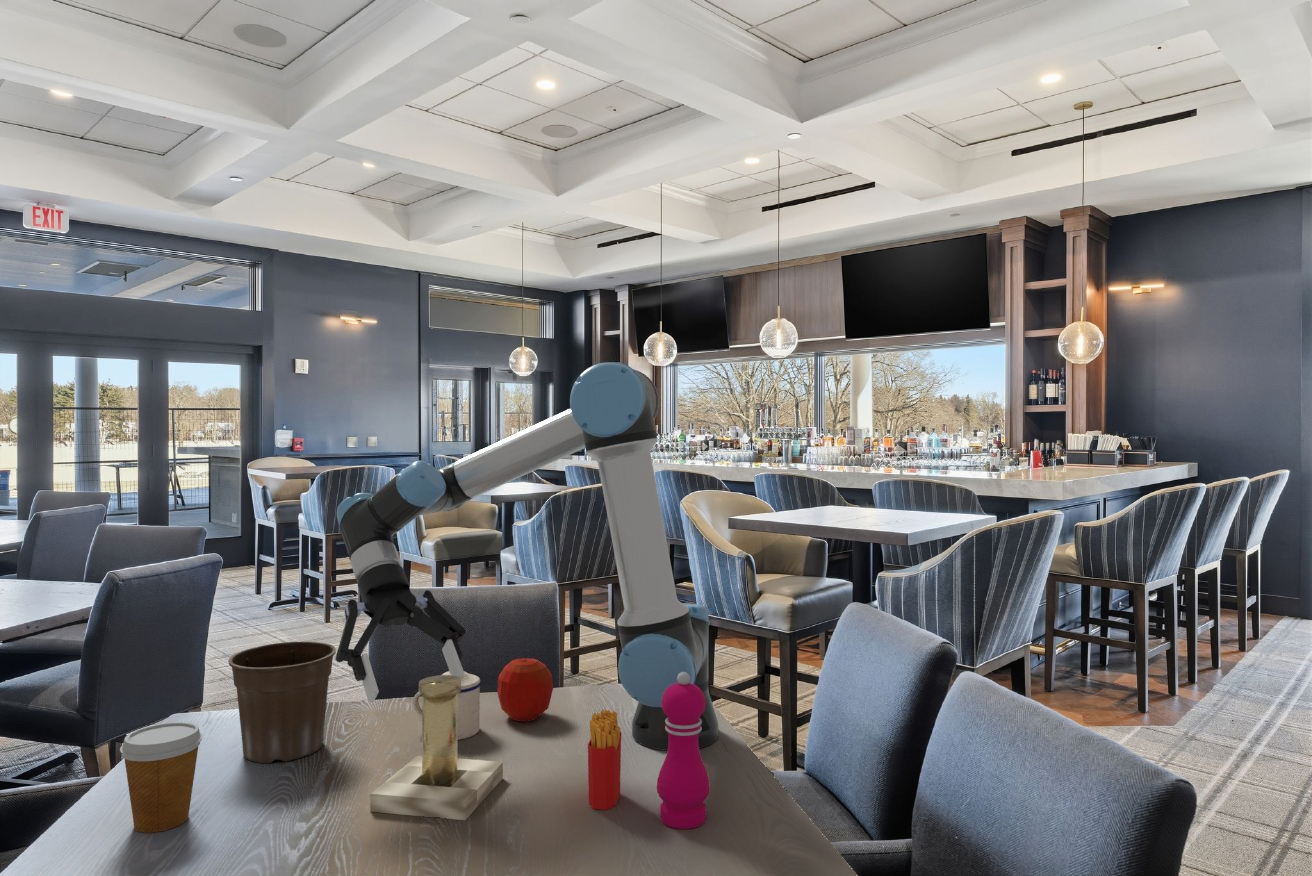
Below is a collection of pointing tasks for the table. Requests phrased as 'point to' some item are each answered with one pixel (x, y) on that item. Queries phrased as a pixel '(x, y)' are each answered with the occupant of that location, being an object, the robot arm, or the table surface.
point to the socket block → (437, 790)
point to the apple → (525, 689)
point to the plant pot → (282, 698)
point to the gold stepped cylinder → (439, 729)
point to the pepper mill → (683, 757)
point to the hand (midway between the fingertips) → (418, 688)
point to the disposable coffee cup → (161, 773)
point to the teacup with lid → (464, 705)
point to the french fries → (604, 760)
